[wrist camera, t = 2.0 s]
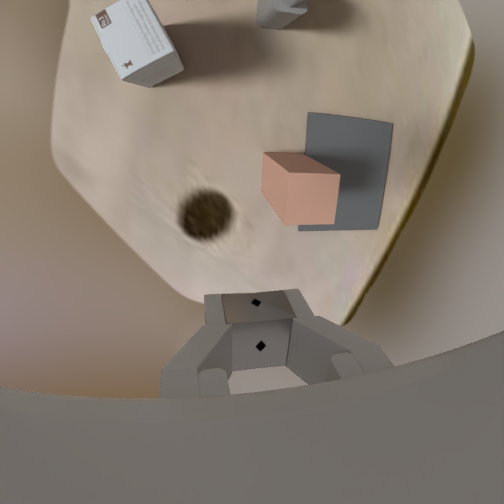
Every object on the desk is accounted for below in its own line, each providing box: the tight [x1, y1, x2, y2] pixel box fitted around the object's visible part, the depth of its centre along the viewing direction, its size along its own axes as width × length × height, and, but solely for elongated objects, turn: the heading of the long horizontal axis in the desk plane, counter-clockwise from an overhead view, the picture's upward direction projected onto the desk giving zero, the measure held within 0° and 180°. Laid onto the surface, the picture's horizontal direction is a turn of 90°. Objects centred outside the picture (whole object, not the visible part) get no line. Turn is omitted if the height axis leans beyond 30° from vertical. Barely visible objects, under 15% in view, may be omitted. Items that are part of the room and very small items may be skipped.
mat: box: [298, 112, 393, 231], centre depth 36 cm, size 14×11×1 cm
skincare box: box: [91, 0, 184, 88], centre depth 21 cm, size 6×4×12 cm
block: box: [261, 152, 340, 225], centre depth 31 cm, size 4×4×10 cm
